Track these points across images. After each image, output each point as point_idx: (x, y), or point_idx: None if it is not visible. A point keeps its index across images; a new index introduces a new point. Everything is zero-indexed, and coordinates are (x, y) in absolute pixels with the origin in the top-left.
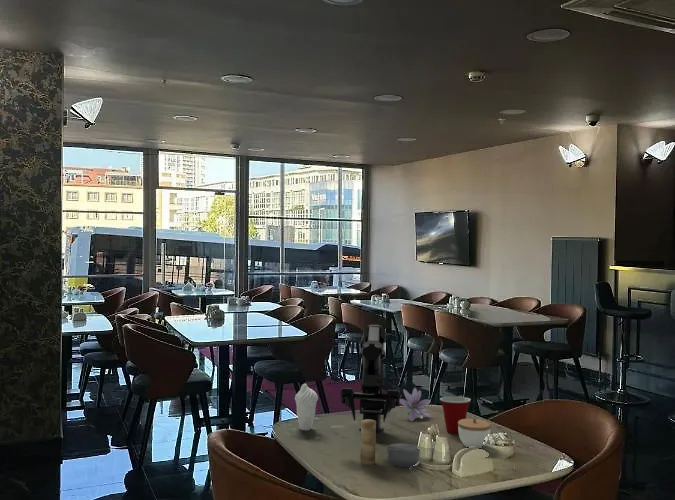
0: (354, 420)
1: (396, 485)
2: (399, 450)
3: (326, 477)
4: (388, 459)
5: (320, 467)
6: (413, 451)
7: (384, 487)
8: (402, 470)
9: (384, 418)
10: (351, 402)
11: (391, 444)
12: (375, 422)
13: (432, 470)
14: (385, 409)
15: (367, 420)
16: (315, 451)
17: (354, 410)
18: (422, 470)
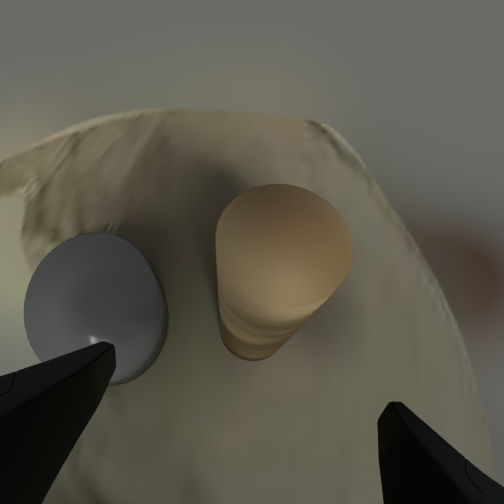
0: (383, 415)
1: (204, 143)
2: (108, 278)
3: (391, 209)
4: (164, 301)
5: (418, 284)
6: (61, 259)
7: (239, 136)
8: (141, 235)
9: (95, 348)
10: (500, 502)
11: (115, 373)
12: (228, 205)
13: (56, 228)
14: (30, 390)
15: (294, 265)
16: None
17: (432, 451)
18: (81, 230)
